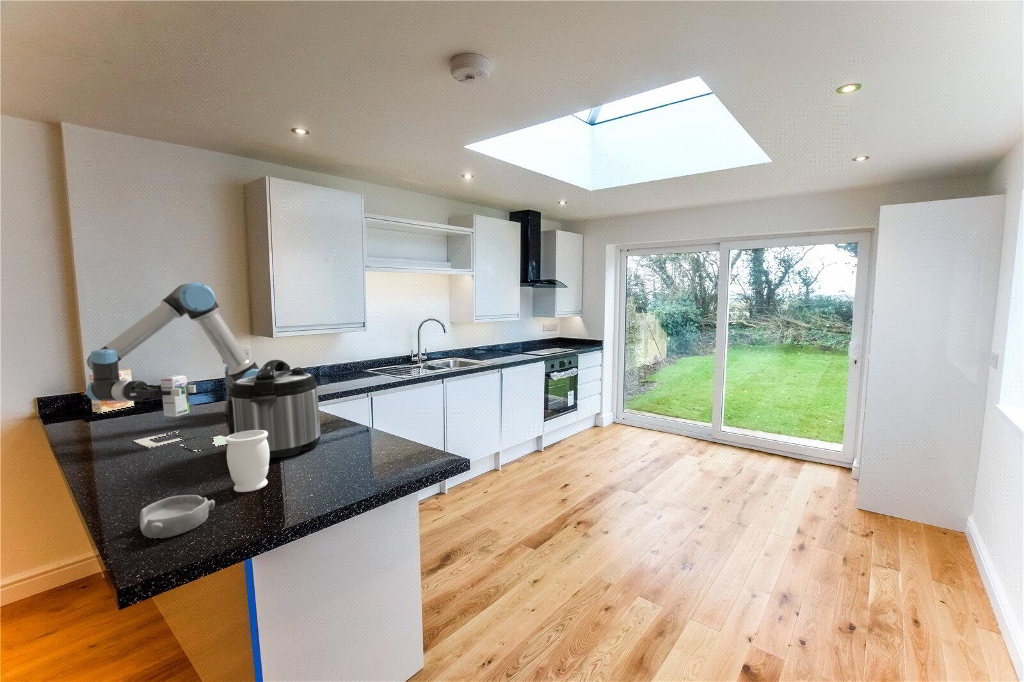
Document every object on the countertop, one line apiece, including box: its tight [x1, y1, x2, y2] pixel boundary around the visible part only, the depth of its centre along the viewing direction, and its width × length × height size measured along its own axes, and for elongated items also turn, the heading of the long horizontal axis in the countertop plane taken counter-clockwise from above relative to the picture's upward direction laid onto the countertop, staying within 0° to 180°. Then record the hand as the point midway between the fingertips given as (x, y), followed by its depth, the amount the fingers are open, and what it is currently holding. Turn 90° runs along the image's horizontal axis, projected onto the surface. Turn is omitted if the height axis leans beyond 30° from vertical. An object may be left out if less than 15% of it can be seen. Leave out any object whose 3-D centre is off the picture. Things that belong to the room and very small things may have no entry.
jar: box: [225, 430, 270, 493], centre depth 131 cm, size 11×10×15 cm
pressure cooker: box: [227, 359, 321, 459], centre depth 163 cm, size 30×28×32 cm
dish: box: [139, 494, 216, 540], centre depth 110 cm, size 14×14×5 cm
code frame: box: [132, 430, 182, 449], centre depth 180 cm, size 16×16×1 cm
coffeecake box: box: [88, 368, 135, 414], centre depth 233 cm, size 15×7×20 cm, turn 161°
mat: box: [179, 434, 228, 453], centre depth 172 cm, size 14×14×1 cm
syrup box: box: [159, 374, 191, 417], centre depth 173 cm, size 6×6×14 cm
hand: (187, 390), depth 172 cm, fingers closed on syrup box, 6 cm apart
